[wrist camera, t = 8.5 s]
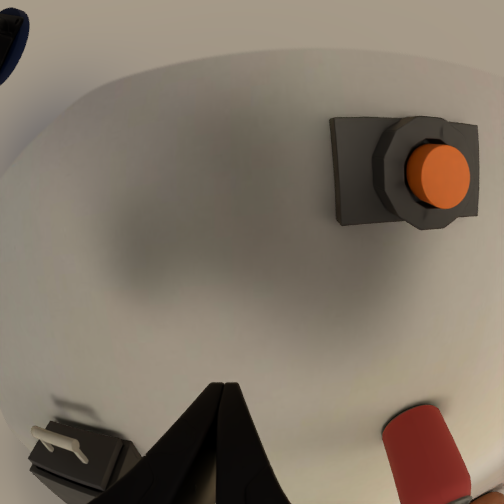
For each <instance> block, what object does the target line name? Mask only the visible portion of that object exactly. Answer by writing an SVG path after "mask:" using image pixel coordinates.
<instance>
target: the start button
mask: <svg viewBox="0 0 504 504" xmlns="http://www.w3.org/2000/svg"><path fill="white" fill-rule="evenodd" d="M406 177H407V182H408V185H409V187H410V189H411V191H412V192H413V194H414V195H415V196H416V197H417V198H419V199H420V200H422V201H424V202H427V203H429V204H431V205H433V206H435V207H438V208H441V209H449V208H453V207H455V206H456V205H458V204H459V203H460V202H461V201H462V200H463V199H464V197H465V195H466V193H467V191H468V188H469V183H470V171H469V167H468V164H467V161H466V159H465V157H464V156H463V155H462V153H461V152H460V151H459V150H457V149H456V148H454V147H452V146H449V145H441V144H424V145H421V146H419V147H418V148H416V149H415V150H414V151H413V153H412V154H411V156H410V157H409V160H408V163H407V168H406Z"/></svg>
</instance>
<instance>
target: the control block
mask: <svg viewBox="0 0 504 504" xmlns="http://www.w3.org/2000/svg"><path fill="white" fill-rule="evenodd" d="M329 121H330V131H331V141H332V152H333V165H334V179H335V196H336V219H337V221H338V223H339V224H340V225H341V226H346V225H358V224H371V223H383V222H397V221H406V222H407V223H409V224H411V225H412V226H414V227H416V228H417V229H419V230H429V229H441V228H445V227H446V226H447V225H449V224H450V223H451V222H452V221H454V220H455V219H456V218H458V217H469V216H477V215H478V199H479V141H478V126H477V125H470V124H463V123H454V122H447V121H446V120H444V119H442V118H438V117H427V116H414V117H406V118H378V117H339V118H332V119H330V120H329ZM424 144H441V145H449V146H452V147H454V148H456V149H457V150H459V151H460V152H461V153H462V155H463V156H464V157H465V159H466V161H467V164H468V167H469V171H470V183H469V188H468V191H467V193H466V195H465V197H464V199H463V200H462V201H461V202H460V203H459V204H458V205H456V206H455V207H453V208H449V209H441V208H438V207H435V206H433V205H431V204H429V203H427V202H424V201H422V200H420V199H419V198H417V197H416V196H415V195H414V194H413V192H412V191H411V189H410V187H409V185H408V182H407V177H406V168H407V163H408V160H409V157H410V156H411V154H412V153H413V151H414V150H415V149H416V148H418V147H419V146H421V145H424Z"/></svg>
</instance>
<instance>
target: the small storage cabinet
mask: <svg viewBox="0 0 504 504" xmlns="http://www.w3.org/2000/svg"><path fill="white" fill-rule="evenodd" d="M120 440H121V439H120ZM121 442H122V443H123V445H122V447H121V450H120V451H121V453H120V456H119V458H118V461H117V464H116V466H115V469H114V471H113V474H112V477H111V479H110V482H109V485H108V487H107V488H109V487H110V486H111V485H113V484H114V483H115V482H116V481H118V480H119V479H120V478H121V477H122V476H124V475H125V474H126V473H127V472H128V471H129V470H130V469H131V468H132V467H133V466H134V465H135V464H136V463H137V462H138V461H139V460H140V459H141V458H142V457H141V456H140V454H139V453H138V451H137V449H136V448H135V446H134V445H133V443H132V442H131V441H126V440H121ZM30 471H31V472H32V473H33V474H34V475H35V476H36V477H37V478H38V479H39V480H40V481H41V482H42V483H44V484H45V485H46V486H47V487H48V488H49V489H50V490H51V491H52V492H53V493H55V494H56V495H57V496H58V497H60V498H61V499H62V500H63V501H64V502H66V503H67V504H87V503H88V502H90V501H91V500H93V499H94V498H95V497H97V496H98V495H99V494H101V492H97V491H94V490H91V489H88V488H85V487H82V486H80V485H77V484H74V483H71V482H69V481H66V480H64V479H61V478H59V477H56V476H54V475H51V474H49V473H47V472H44V469H43V468H41V467H38V466H36V465H34V464H32V466H31V468H30Z"/></svg>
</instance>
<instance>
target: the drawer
mask: <svg viewBox="0 0 504 504" xmlns="http://www.w3.org/2000/svg"><path fill="white" fill-rule="evenodd" d="M31 434H32V436H33V437H35V438H37V439H39V440H38V442H37V444H36V445H35V447H34V449H33V450H32V452H31V454H30V456H29V457H28V459H29V460H30V461H31V462H32V463H33V464H34V465H36V466H38V467H41V468H43V469H44V472H47V473H49V474H51V475H54V476H56V477H59V478H61V479H64V480H66V481H69V482H71V483H74V484H77V485H80V486H82V487H85V488H88V489H91V490H94V491H97V492H101V493H102V492H103V491H105V490H106V489H107V487H108V485H109V482H110V479H111V477H112V474H113V471H114V469H115V466H116V464H117V461H118V458H119V456H120V453H121V451H120V450H121V447H122V445H123V443H122V442H121V440H120V439H119V438H116V437H111V436H106V435H102V434H97V433H93V432H89V431H85V430H81V429H77V428H74V427H70V426H67V425H63V424H60V423H57V422H54V421H50V422H49V424H48V425H47V427H46V428H45V429H43V428H40V427H37V426H33V427H32V428H31Z"/></svg>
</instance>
